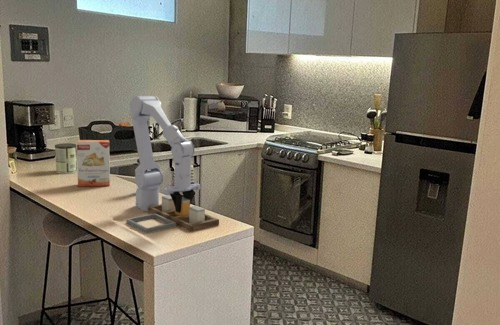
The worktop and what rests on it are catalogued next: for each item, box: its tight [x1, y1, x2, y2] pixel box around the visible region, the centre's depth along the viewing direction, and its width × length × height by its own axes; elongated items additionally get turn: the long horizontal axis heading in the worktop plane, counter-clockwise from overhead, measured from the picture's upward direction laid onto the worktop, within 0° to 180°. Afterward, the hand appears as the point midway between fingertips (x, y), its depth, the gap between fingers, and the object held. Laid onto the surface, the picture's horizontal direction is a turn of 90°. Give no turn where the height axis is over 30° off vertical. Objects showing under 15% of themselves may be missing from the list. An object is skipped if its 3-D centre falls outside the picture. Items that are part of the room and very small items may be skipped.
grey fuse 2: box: [189, 205, 206, 224], centre depth 168 cm, size 5×3×6 cm, turn 42°
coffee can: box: [54, 142, 78, 175], centre depth 247 cm, size 10×10×14 cm
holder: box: [147, 203, 220, 232], centre depth 175 cm, size 28×12×3 cm, turn 42°
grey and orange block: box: [175, 197, 191, 217], centre depth 175 cm, size 5×3×6 cm, turn 42°
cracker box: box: [76, 139, 111, 188], centre depth 220 cm, size 14×6×21 cm, turn 105°
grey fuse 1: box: [161, 194, 175, 212], centre depth 181 cm, size 5×3×6 cm, turn 42°
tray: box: [125, 213, 177, 234], centre depth 167 cm, size 14×12×2 cm
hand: (182, 210), depth 175 cm, fingers closed on grey and orange block, 3 cm apart
